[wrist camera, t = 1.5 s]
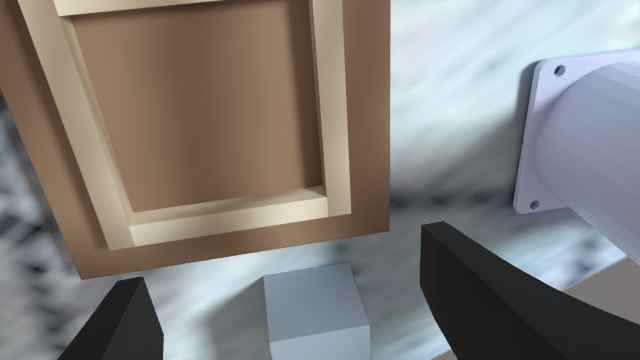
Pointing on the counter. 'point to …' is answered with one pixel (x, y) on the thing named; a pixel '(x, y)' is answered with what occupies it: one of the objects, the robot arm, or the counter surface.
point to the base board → (201, 123)
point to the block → (316, 315)
